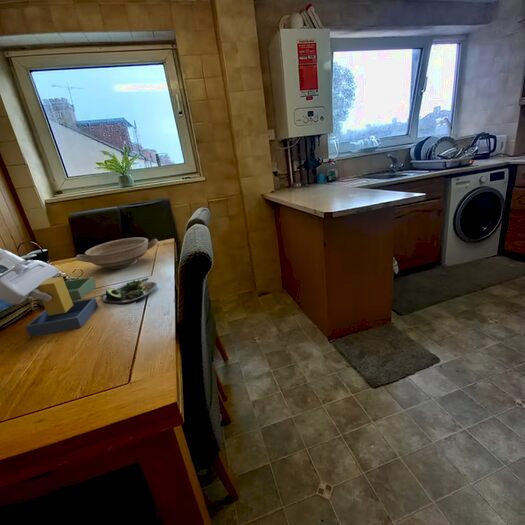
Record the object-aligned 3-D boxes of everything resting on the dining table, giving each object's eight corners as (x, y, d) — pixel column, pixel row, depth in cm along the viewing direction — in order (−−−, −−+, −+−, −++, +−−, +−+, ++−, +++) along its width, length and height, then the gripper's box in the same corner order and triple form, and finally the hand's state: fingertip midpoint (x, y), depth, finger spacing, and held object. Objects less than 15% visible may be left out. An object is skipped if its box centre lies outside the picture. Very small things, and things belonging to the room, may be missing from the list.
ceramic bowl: (158, 249, 160) (154, 232, 156) (164, 262, 135) (159, 242, 132) (86, 265, 146) (79, 247, 143) (77, 283, 122) (69, 262, 118)
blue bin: (31, 339, 81) (25, 326, 80) (55, 316, 94) (50, 305, 92) (82, 329, 83) (77, 317, 81) (99, 308, 95) (95, 297, 94)
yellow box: (48, 315, 84) (35, 285, 81) (56, 307, 89) (45, 279, 85) (65, 312, 85) (53, 283, 81) (73, 305, 89) (62, 276, 86)
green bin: (41, 307, 102) (36, 297, 101) (59, 292, 114) (56, 282, 113) (81, 300, 104) (77, 290, 102) (96, 286, 116) (92, 276, 114)
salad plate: (133, 281, 116) (130, 271, 114) (168, 282, 110) (166, 272, 108) (94, 304, 99) (89, 293, 97) (133, 307, 93) (130, 295, 91)
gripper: (26, 266, 91) (68, 288, 95) (-24, 292, 71) (31, 318, 76) (35, 251, 89) (78, 274, 94) (-13, 274, 70) (43, 301, 75)
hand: (57, 294), depth 85 cm, fingers closed on yellow box, 5 cm apart
